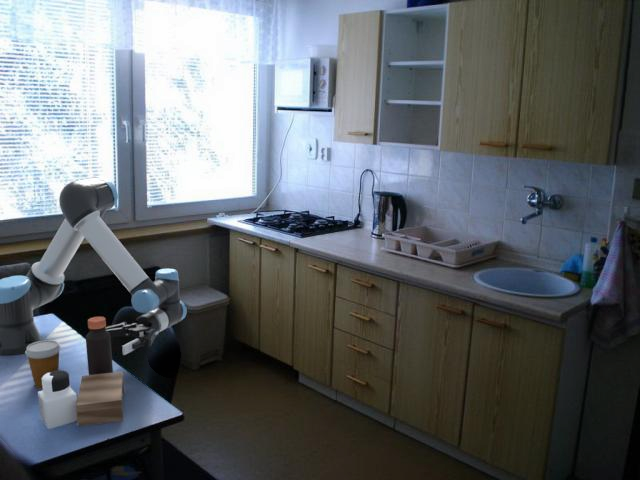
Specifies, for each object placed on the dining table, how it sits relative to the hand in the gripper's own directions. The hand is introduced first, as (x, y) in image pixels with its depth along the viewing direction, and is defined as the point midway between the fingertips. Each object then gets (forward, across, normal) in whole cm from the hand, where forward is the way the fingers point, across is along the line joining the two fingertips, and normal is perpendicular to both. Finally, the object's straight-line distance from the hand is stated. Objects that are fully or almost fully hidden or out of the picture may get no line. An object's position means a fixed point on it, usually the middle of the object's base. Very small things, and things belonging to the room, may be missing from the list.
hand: (105, 346), depth 183 cm
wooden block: (+14, -10, -11) cm, 20 cm away
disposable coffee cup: (+9, +15, -11) cm, 21 cm away
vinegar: (+2, +1, -11) cm, 11 cm away
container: (+23, -4, -11) cm, 26 cm away
